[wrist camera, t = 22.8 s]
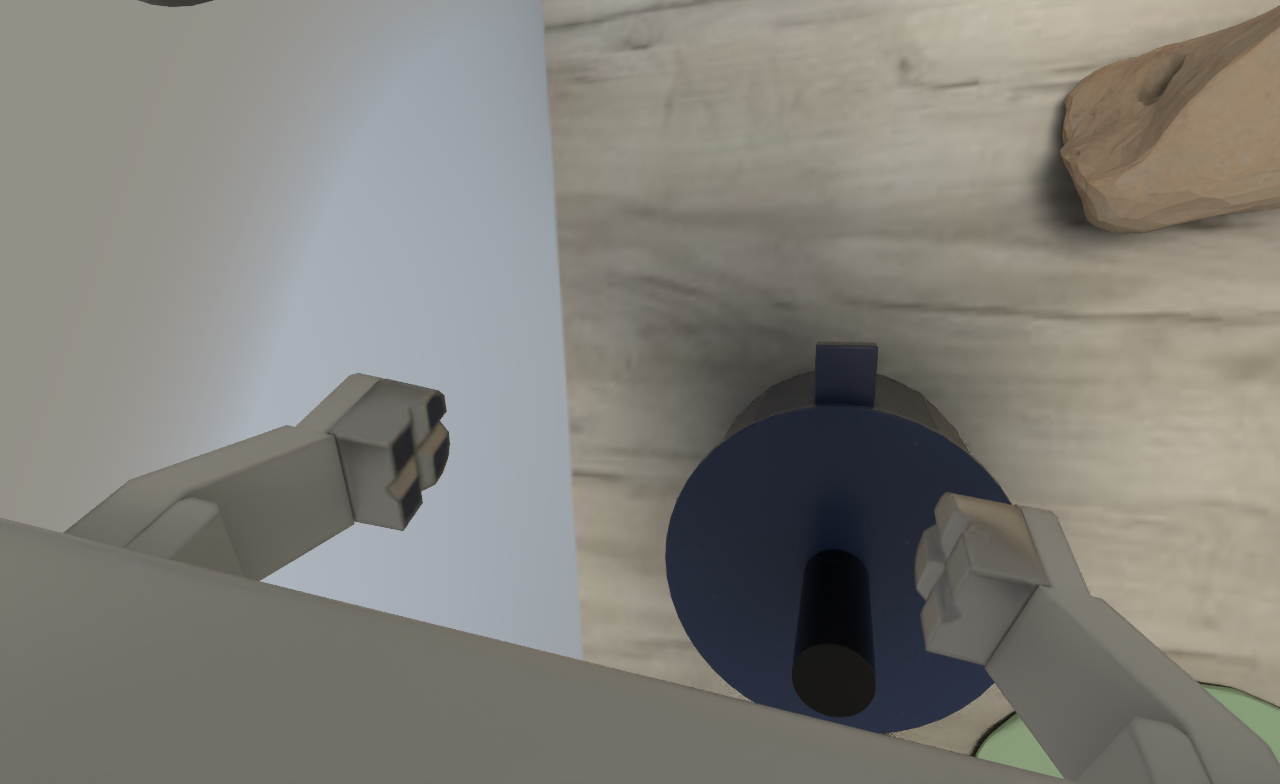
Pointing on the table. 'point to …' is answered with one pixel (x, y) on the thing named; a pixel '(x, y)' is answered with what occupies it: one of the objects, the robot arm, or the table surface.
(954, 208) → the table surface
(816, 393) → the cooking pot
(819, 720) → the robot arm
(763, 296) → the table surface
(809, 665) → the lid
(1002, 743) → the plant
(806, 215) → the table surface
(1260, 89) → the decorative stone
